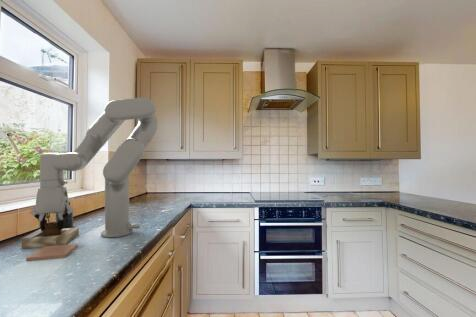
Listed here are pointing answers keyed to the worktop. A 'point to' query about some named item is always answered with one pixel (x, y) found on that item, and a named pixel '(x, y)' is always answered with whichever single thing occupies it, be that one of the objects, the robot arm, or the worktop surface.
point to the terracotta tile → (52, 252)
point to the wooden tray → (49, 238)
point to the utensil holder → (51, 227)
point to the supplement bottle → (67, 219)
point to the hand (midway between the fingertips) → (52, 229)
